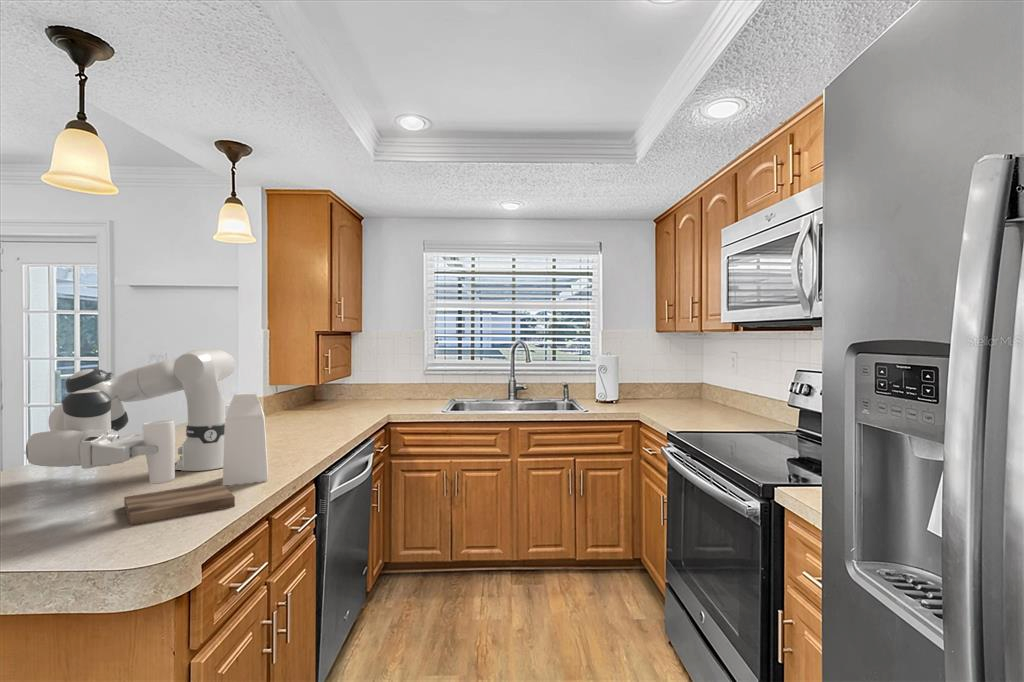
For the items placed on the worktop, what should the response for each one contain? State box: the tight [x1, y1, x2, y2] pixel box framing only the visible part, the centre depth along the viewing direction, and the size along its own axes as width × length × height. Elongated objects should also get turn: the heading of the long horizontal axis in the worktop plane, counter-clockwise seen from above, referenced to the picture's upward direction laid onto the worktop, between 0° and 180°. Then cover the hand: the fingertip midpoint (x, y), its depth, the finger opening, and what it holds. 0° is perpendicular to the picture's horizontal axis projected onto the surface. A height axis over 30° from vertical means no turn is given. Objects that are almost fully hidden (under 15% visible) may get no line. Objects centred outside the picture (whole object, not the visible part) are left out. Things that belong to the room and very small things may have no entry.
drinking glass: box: [142, 419, 176, 485], centre depth 137 cm, size 7×7×15 cm
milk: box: [222, 392, 269, 487], centre depth 167 cm, size 12×12×26 cm
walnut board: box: [123, 481, 236, 526], centre depth 141 cm, size 18×22×2 cm
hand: (164, 446), depth 137 cm, fingers closed on drinking glass, 6 cm apart
